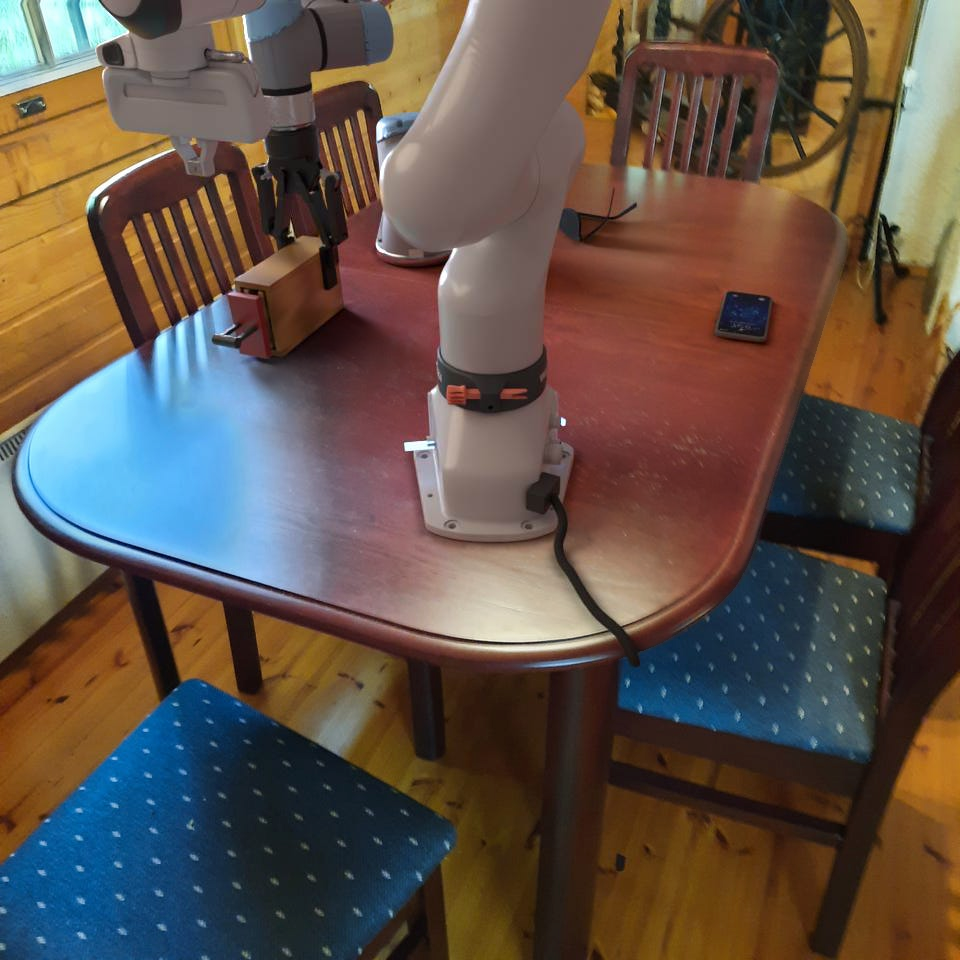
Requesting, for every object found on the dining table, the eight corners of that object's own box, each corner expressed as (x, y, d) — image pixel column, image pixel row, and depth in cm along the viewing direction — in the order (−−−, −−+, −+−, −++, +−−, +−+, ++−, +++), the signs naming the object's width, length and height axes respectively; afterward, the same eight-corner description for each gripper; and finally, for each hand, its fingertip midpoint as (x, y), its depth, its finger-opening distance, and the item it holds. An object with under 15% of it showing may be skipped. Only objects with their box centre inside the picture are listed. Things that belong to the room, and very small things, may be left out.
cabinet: (282, 357, 122) (269, 286, 115) (248, 350, 124) (233, 280, 117) (344, 306, 135) (335, 240, 128) (312, 301, 136) (302, 235, 130)
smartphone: (773, 295, 132) (766, 339, 121) (772, 301, 133) (765, 345, 121) (725, 289, 134) (713, 331, 123) (724, 295, 135) (712, 337, 123)
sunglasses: (646, 234, 156) (649, 207, 153) (572, 244, 153) (574, 217, 150) (609, 205, 169) (611, 179, 166) (540, 214, 166) (541, 188, 163)
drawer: (244, 377, 115) (231, 316, 110) (216, 371, 117) (201, 311, 111) (327, 310, 131) (320, 254, 126) (301, 306, 133) (293, 250, 128)
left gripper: (363, 122, 116) (379, 282, 130) (246, 111, 122) (273, 266, 136) (335, 136, 110) (354, 302, 124) (214, 125, 116) (246, 284, 130)
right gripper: (269, 46, 93) (289, 175, 102) (122, 38, 100) (151, 159, 108) (235, 57, 89) (259, 191, 97) (82, 48, 95) (117, 174, 104)
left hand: (312, 283), depth 130 cm, fingers closed on cabinet, 6 cm apart
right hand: (201, 174), depth 103 cm, fingers closed
